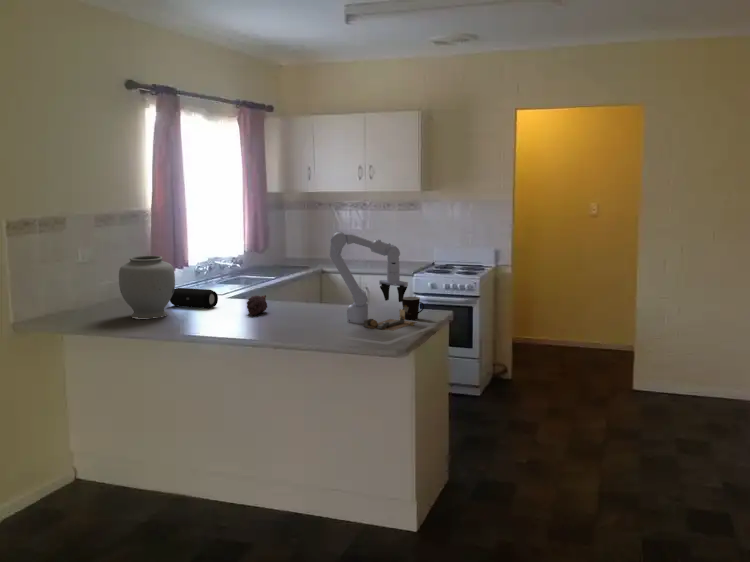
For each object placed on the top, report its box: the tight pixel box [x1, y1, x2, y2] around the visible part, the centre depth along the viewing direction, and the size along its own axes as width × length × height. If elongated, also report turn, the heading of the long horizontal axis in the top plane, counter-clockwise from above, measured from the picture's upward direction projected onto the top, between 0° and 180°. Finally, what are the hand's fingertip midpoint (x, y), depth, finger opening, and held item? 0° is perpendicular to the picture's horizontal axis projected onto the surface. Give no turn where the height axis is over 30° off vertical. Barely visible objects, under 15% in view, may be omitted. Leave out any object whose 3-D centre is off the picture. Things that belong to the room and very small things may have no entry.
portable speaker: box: [169, 287, 219, 309], centre depth 396 cm, size 26×10×10 cm, turn 67°
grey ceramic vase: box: [118, 255, 176, 318], centre depth 371 cm, size 27×27×30 cm
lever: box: [377, 308, 406, 330], centre depth 333 cm, size 3×18×6 cm, turn 140°
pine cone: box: [246, 294, 268, 316], centre depth 374 cm, size 18×10×10 cm
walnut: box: [370, 319, 378, 327], centre depth 331 cm, size 3×3×3 cm
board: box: [363, 318, 418, 331], centre depth 335 cm, size 17×21×4 cm
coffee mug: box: [401, 296, 425, 321], centre depth 351 cm, size 12×9×10 cm
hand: (393, 301), depth 343 cm, fingers open, 7 cm apart
